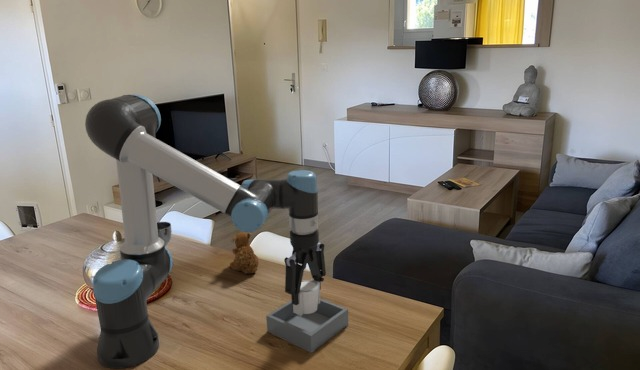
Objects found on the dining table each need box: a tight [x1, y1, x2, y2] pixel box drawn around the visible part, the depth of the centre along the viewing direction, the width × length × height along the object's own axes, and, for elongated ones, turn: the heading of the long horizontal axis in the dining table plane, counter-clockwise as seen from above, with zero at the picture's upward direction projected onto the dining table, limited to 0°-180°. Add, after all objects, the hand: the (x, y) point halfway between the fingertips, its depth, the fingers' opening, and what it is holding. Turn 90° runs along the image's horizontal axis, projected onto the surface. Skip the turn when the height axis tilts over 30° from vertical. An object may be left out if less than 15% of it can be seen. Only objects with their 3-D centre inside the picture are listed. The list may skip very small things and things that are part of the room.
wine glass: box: [157, 221, 175, 266], centre depth 176 cm, size 8×8×15 cm
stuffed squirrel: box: [229, 231, 259, 275], centre depth 171 cm, size 10×14×13 cm
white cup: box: [295, 279, 319, 314], centre depth 133 cm, size 7×7×7 cm
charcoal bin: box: [265, 297, 349, 354], centre depth 135 cm, size 16×16×5 cm
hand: (307, 307), depth 134 cm, fingers closed on white cup, 7 cm apart
